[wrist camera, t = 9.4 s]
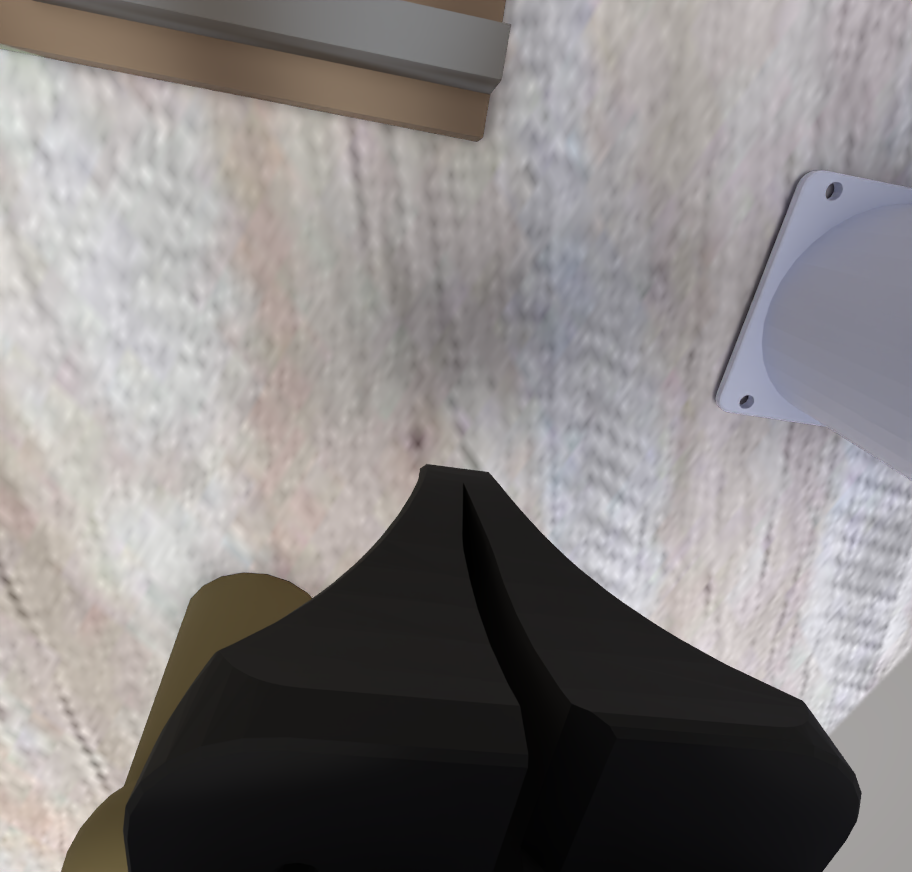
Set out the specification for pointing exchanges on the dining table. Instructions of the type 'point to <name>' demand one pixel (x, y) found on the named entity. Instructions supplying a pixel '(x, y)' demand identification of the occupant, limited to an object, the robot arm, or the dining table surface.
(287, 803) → the robot arm
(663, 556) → the dining table surface
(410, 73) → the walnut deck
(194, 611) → the cork
